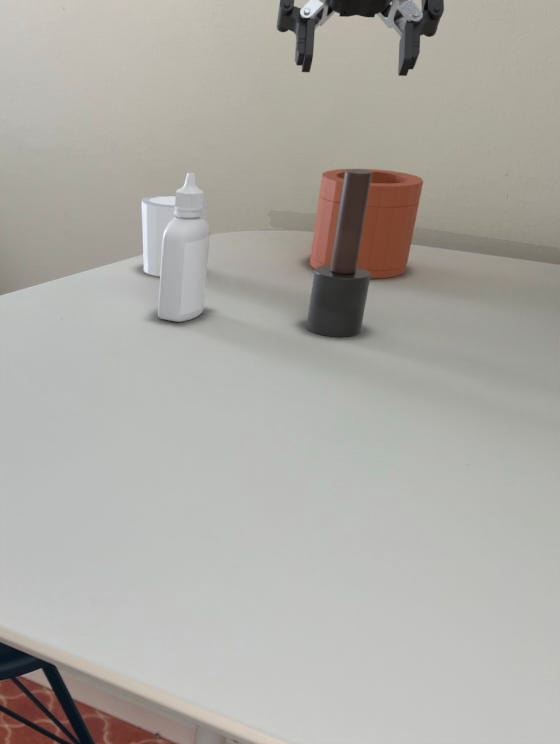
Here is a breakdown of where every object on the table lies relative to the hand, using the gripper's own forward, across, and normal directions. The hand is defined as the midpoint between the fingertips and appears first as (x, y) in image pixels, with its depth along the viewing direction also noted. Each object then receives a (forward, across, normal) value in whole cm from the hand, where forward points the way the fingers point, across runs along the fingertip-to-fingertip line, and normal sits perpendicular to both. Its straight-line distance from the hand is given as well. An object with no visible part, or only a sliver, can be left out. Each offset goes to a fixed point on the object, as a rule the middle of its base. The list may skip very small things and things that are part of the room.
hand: (356, 67), depth 88 cm
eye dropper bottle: (+21, -14, +7) cm, 26 cm away
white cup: (+10, -15, +19) cm, 26 cm away
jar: (+5, +5, +22) cm, 24 cm away
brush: (+22, 0, +6) cm, 23 cm away
